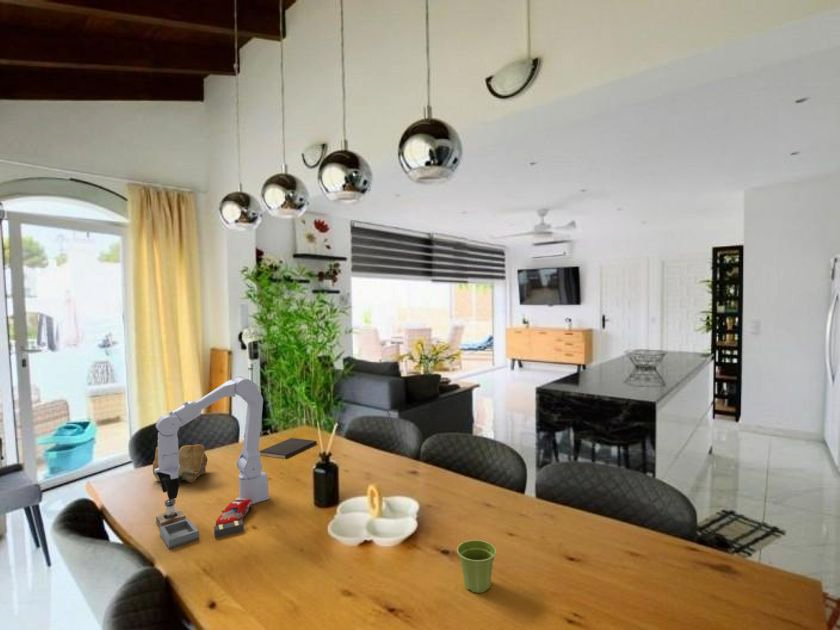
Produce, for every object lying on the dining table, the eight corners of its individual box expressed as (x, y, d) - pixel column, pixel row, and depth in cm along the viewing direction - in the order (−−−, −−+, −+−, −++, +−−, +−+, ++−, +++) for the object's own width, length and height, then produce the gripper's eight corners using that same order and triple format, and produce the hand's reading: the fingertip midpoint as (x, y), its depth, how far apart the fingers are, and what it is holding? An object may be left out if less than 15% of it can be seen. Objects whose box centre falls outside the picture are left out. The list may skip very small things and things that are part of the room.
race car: (232, 532, 137) (232, 516, 137) (211, 532, 138) (211, 516, 138) (256, 508, 154) (255, 493, 154) (237, 507, 154) (236, 493, 154)
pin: (174, 519, 146) (174, 498, 146) (177, 522, 144) (176, 500, 144) (164, 522, 144) (163, 500, 144) (166, 525, 142) (166, 503, 142)
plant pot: (454, 575, 112) (454, 540, 112) (491, 572, 113) (491, 538, 113) (461, 599, 103) (460, 562, 103) (501, 596, 103) (500, 559, 103)
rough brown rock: (225, 475, 187) (225, 438, 188) (194, 487, 171) (194, 447, 173) (182, 471, 194) (182, 437, 196) (148, 483, 179) (148, 445, 180)
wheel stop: (242, 527, 140) (242, 519, 140) (243, 532, 137) (243, 523, 137) (214, 534, 136) (213, 526, 136) (214, 539, 134) (214, 530, 133)
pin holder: (179, 515, 149) (179, 508, 149) (185, 522, 144) (185, 515, 144) (156, 522, 145) (155, 515, 145) (161, 529, 139) (160, 523, 139)
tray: (188, 526, 141) (188, 518, 141) (199, 539, 133) (198, 530, 133) (160, 535, 136) (159, 527, 136) (169, 549, 128) (168, 540, 128)
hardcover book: (258, 456, 210) (258, 451, 210) (291, 442, 231) (291, 437, 231) (285, 460, 203) (285, 455, 203) (316, 445, 224) (316, 440, 224)
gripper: (149, 450, 147) (150, 492, 147) (159, 461, 136) (160, 505, 136) (173, 446, 151) (174, 485, 152) (184, 456, 141) (186, 498, 141)
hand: (169, 495), depth 144 cm, fingers open, 7 cm apart
